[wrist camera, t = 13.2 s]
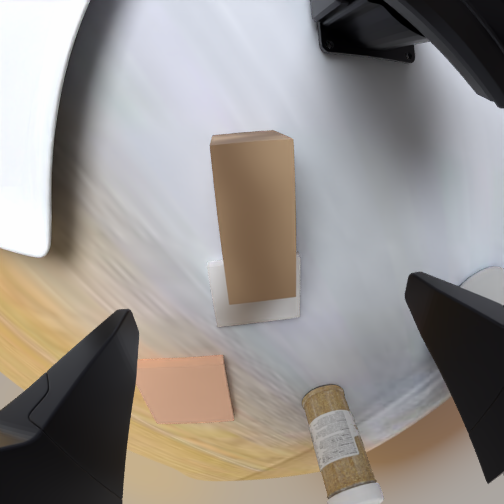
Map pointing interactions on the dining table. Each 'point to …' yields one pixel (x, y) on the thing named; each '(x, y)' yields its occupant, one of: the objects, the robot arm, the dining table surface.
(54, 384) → the robot arm
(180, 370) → the ceramic tile
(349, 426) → the sprinkles bottle
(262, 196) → the tall cardboard box
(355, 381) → the dining table surface
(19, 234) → the salad plate
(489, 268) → the cylinder vase
